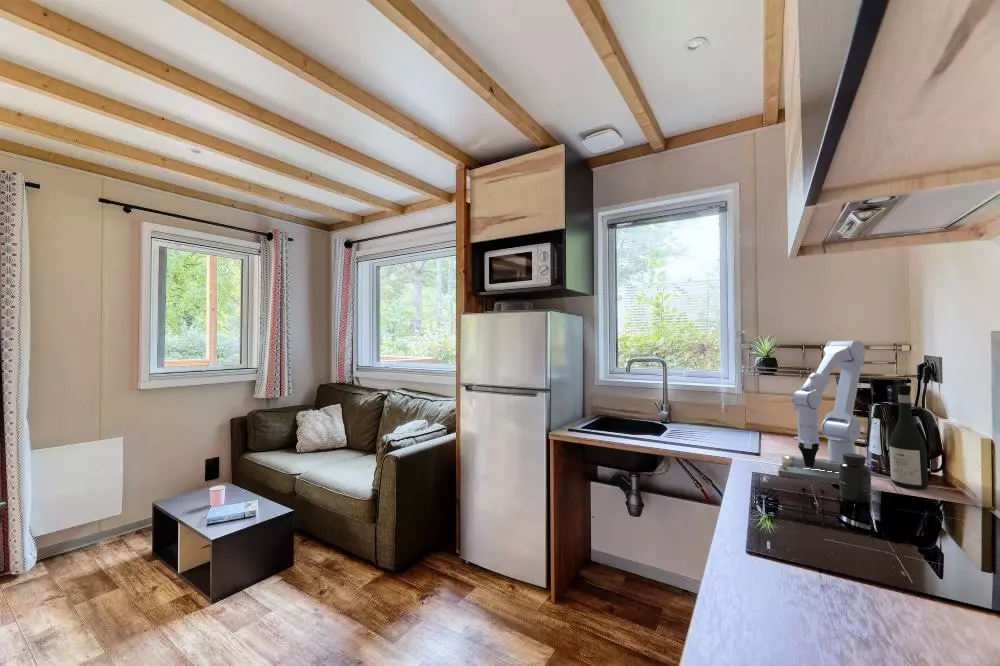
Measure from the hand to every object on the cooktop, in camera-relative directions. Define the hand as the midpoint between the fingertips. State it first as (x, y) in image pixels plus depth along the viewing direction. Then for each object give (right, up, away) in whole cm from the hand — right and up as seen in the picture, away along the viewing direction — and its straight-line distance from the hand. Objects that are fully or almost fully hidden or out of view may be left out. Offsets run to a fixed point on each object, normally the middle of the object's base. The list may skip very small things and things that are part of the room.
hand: (809, 465), depth 145 cm
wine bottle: (+17, -1, -18) cm, 25 cm away
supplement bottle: (-7, -1, -27) cm, 28 cm away
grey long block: (0, -1, 0) cm, 2 cm away
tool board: (-3, -1, -9) cm, 10 cm away
